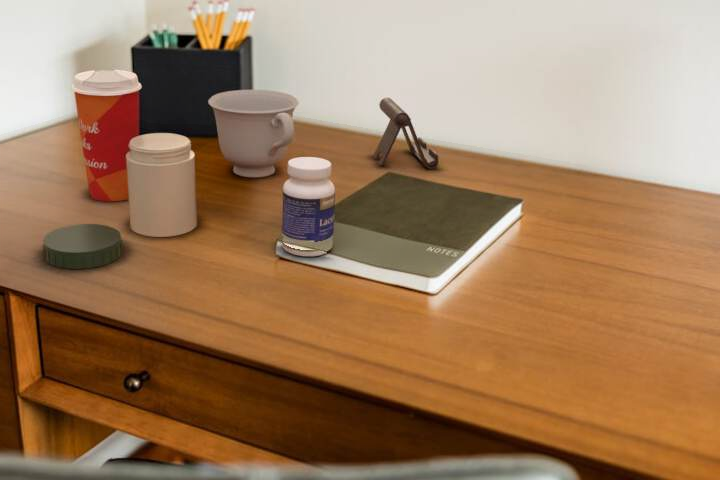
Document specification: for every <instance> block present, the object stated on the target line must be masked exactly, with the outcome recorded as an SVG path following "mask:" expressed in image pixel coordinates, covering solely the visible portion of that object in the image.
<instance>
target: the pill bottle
mask: <svg viewBox="0 0 720 480" xmlns="http://www.w3.org/2000/svg"><path fill="white" fill-rule="evenodd" d="M286 172H287V174H288V175H289V179H287V180H286V181H285V182H284V184H283V186H282V212H281V214H282V216H281V217H282V218H281V219H282V221H281V238H282V237H287V238H290V239H292V240H295V241H300V242H301V241H303V242H318V241H323V240H326V239H328V238H330V237H331V236H332V235H333V233H335V209H336V208H335V206H336V205H335V203H336V202H335V201H336V188H335V185H334V183H333V182H332V180H330V177H331V175H332V163H331V161H329V160H327V159H326V158H322V157H316V156H315V157H314V156H300V157H299V156H298V157H293V158H291V159H289V160H288V162H287V171H286ZM281 246H282V248H283V250H285V251H286V252H287V253H289V254H291V255H295V256H299V257H319V256H324V255H325V254H328V253H327V252H324V251H321V250H300V249H295V248H291V247H289V246H287V245H285V244H284V243H283V242H282V241H281Z"/></svg>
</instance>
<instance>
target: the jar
mask: <svg viewBox="0 0 720 480" xmlns="http://www.w3.org/2000/svg"><path fill="white" fill-rule="evenodd" d="M191 143H192V140H190V138H188V137H187V136H185V135H182V134H177V133H171V132H154V133H153V132H151V133H145V134H141V135H140V134H139V136H137V137H135V138H133V139H131V140H130V143H129V145H128V146H129V148H130V151H129V152H128V153H127V154H126V168H127V183H128V199H127V200H128V211H129V227H130V229H131V230H132V232H134V233H136V234H139V235H141V236H145V237H153V238H166V237H167V238H168V237H176V236H181V235H184V234H187V233H190V232H191V231H193V230H194V229H195V228H196V227H197V225H198V214H197V213H198V211H197V209H198V208H197V184H196V183H197V181H196V180H197V179H196V154H195V152H194V151H193V150H192V144H191Z"/></svg>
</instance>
